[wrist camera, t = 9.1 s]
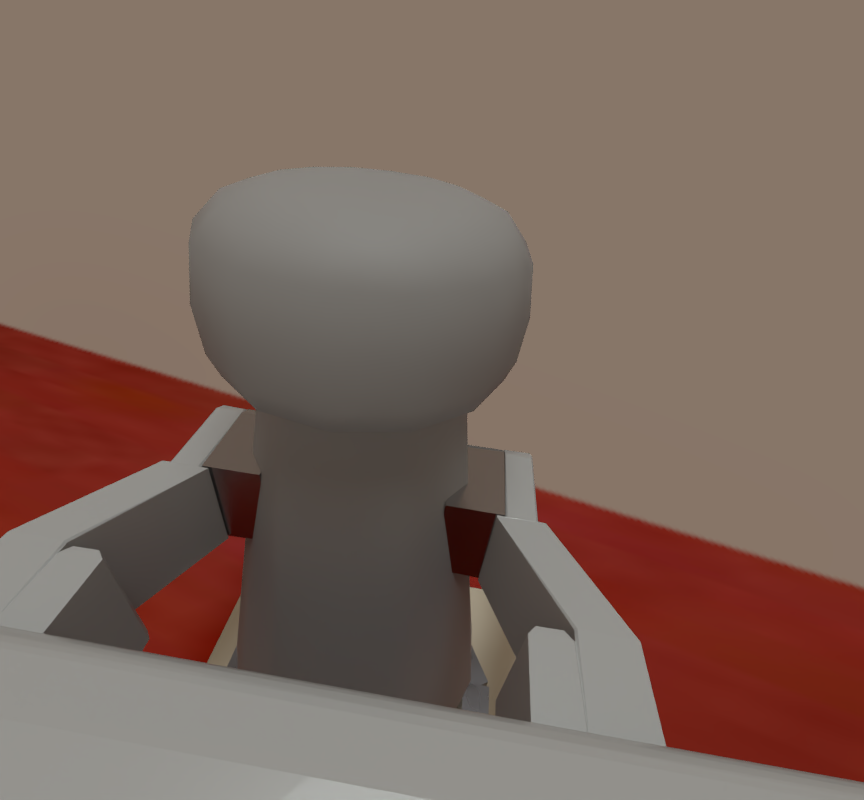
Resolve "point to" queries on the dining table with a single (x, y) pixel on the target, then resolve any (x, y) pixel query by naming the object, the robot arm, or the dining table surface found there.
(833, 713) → the dining table surface
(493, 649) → the birch stand
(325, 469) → the salt shaker
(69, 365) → the dining table surface
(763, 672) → the dining table surface
